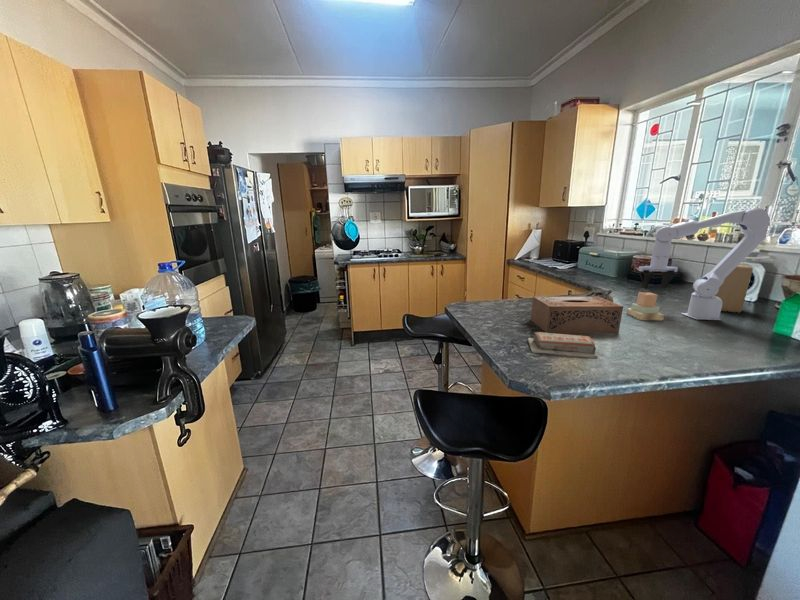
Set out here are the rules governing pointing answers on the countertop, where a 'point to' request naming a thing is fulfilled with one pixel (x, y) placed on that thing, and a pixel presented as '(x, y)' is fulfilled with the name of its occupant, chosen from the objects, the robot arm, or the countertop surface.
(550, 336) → the packaged product
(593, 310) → the tissue box cover
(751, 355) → the countertop surface
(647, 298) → the terracotta cube
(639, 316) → the maple slab
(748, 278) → the wooden block
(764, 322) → the countertop surface
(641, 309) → the sage block
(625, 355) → the countertop surface
